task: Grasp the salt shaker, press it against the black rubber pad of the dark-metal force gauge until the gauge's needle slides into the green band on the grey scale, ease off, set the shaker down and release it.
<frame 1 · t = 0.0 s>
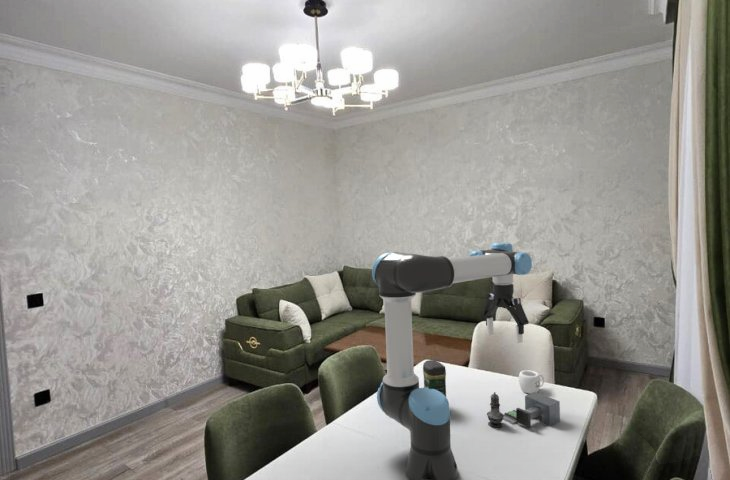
hand: (504, 338, 155), 28 cm above the table, fingers open, 13 cm apart
gauge: (542, 418, 149), on the table
coffee jar: (435, 409, 160), on the table
mug: (533, 391, 173), on the table
plunger: (524, 411, 147), point 4 cm above the table, slide at 0.0 cm
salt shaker: (495, 425, 146), on the table
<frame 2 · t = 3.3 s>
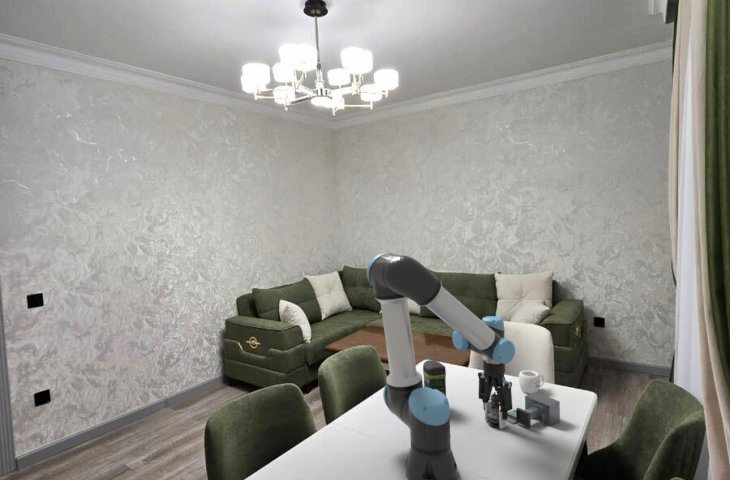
hand: (495, 423, 146), 0 cm above the table, fingers closed on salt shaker, 6 cm apart
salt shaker: (495, 425, 146), on the table, touching gripper
everything else where it was.
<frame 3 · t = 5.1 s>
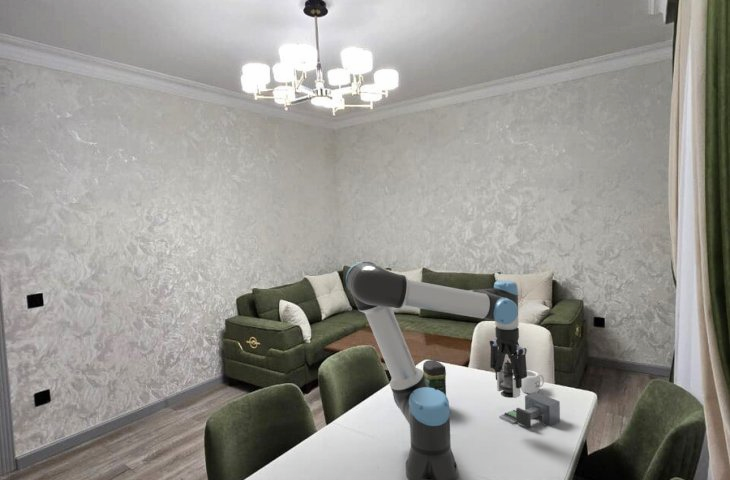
hand: (508, 393, 139), 14 cm above the table, fingers closed on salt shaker, 6 cm apart
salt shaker: (508, 394, 139), point 14 cm above the table, touching gripper
everything else where it was.
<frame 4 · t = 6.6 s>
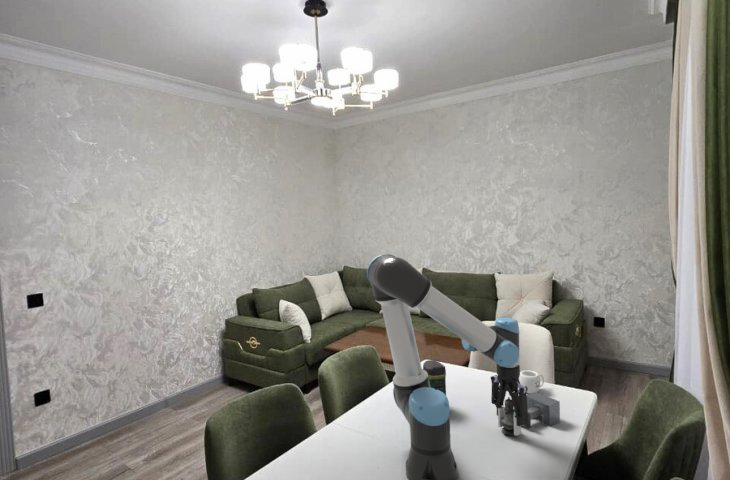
hand: (509, 429, 139), 1 cm above the table, fingers closed on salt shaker, 6 cm apart
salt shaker: (509, 431, 139), point 1 cm above the table, touching gripper
everything else where it was.
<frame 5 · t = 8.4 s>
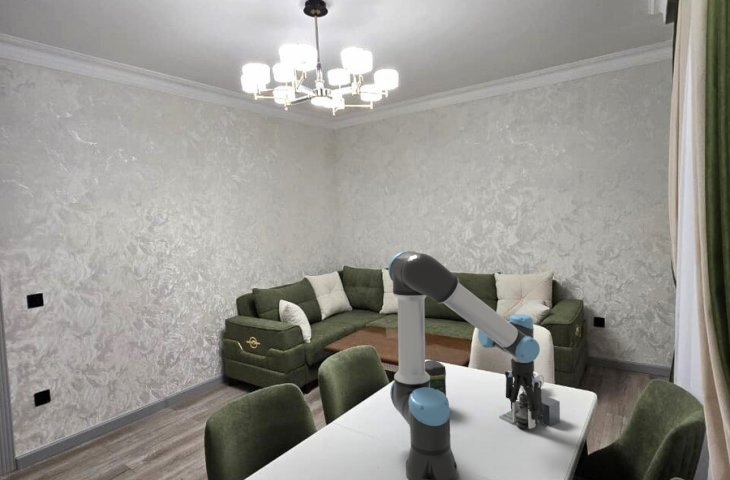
hand: (523, 423, 143), 1 cm above the table, fingers closed on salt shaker, 6 cm apart
plunger: (530, 408, 149), point 4 cm above the table, slide at 3.7 cm
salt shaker: (523, 425, 143), point 1 cm above the table, touching gripper
everything else where it was.
when the fingers open (1 cm above the table, at t = 10.2 s): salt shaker stays where it is, on the table.
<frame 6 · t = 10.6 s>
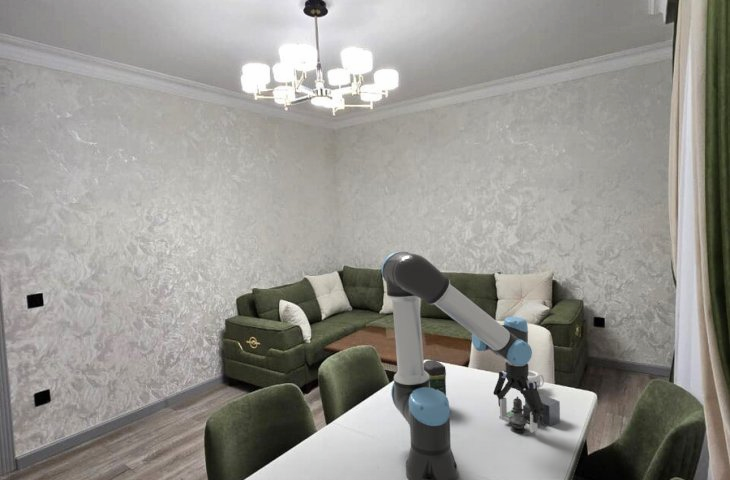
hand: (518, 423, 142), 2 cm above the table, fingers open, 12 cm apart
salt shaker: (518, 430, 142), on the table
everything else where it was.
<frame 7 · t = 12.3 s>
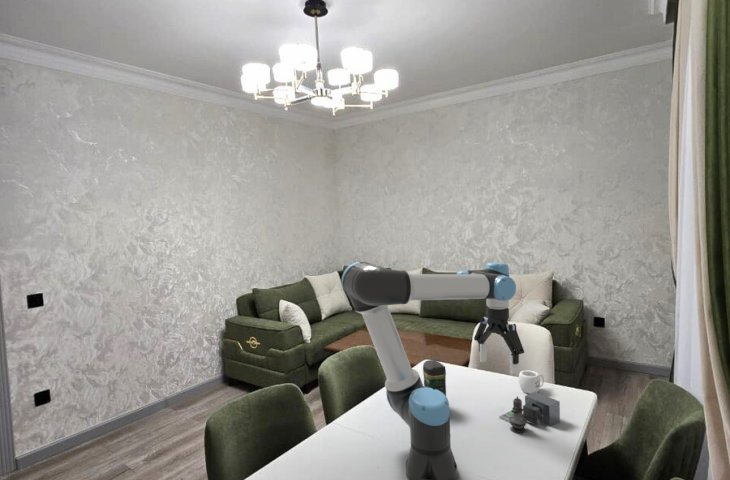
hand: (497, 366, 142), 22 cm above the table, fingers open, 13 cm apart
nothing on the table moved.
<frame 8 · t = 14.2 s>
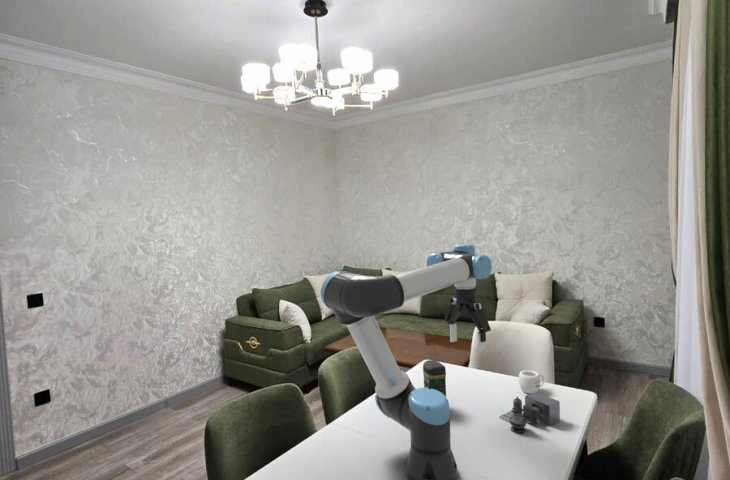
hand: (466, 345, 146), 29 cm above the table, fingers open, 13 cm apart
nothing on the table moved.
at the end: plunger slide at 3.7 cm; the gripper is holding nothing; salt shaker tilted 0° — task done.
